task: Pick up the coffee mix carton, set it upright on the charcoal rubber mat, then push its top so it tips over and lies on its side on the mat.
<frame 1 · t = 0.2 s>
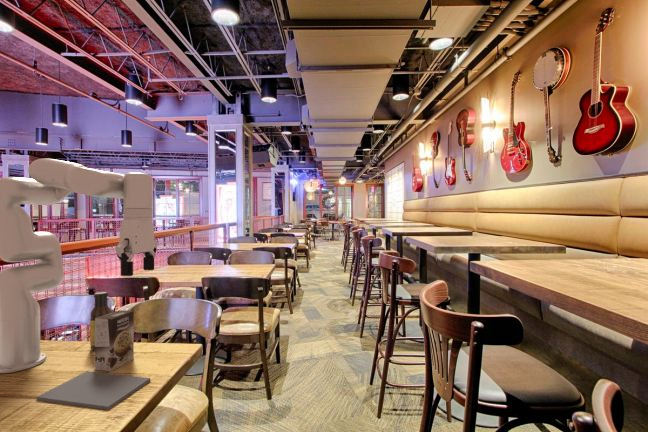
hand: (138, 272, 94), 31 cm above the table, tool pointing down, fingers open, 9 cm apart
sauce bottle: (101, 348, 115), on the table
rubber mat: (96, 389, 87), on the table
coffee box: (115, 364, 102), on the table
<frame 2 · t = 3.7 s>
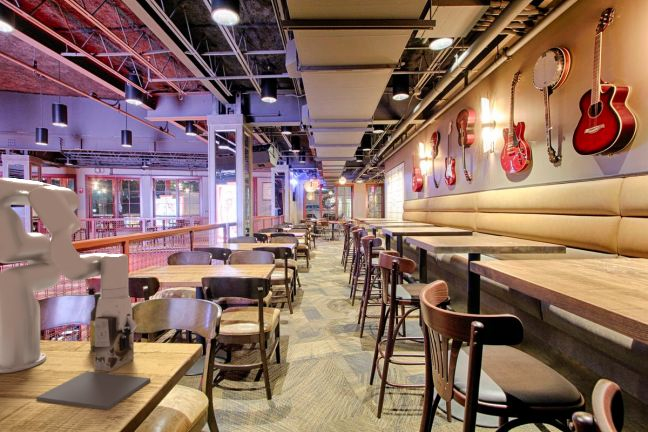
hand: (115, 347, 102), 5 cm above the table, tool pointing down, fingers closed on coffee box, 6 cm apart
coffee box: (115, 364, 102), on the table, touching gripper
everything else where it was.
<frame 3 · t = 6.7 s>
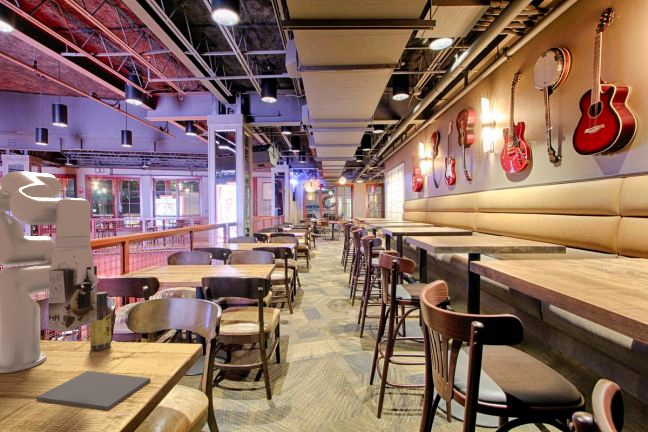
hand: (73, 306, 88), 22 cm above the table, tool pointing down, fingers closed on coffee box, 6 cm apart
coffee box: (73, 326, 88), point 17 cm above the table, touching gripper
everything else where it was.
when the fingers open (7 cm above the table, at t = 10.0 s): coffee box stays where it is, resting on rubber mat.
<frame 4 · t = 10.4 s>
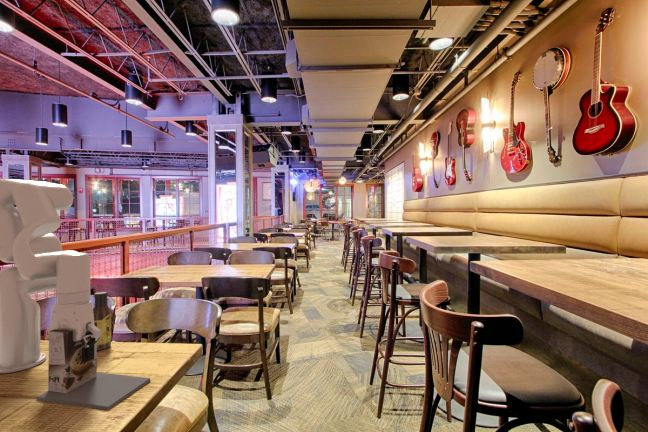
hand: (73, 359, 88), 8 cm above the table, tool pointing down, fingers open, 9 cm apart
coffee box: (73, 384, 88), point 1 cm above the table, touching rubber mat
everything else where it was.
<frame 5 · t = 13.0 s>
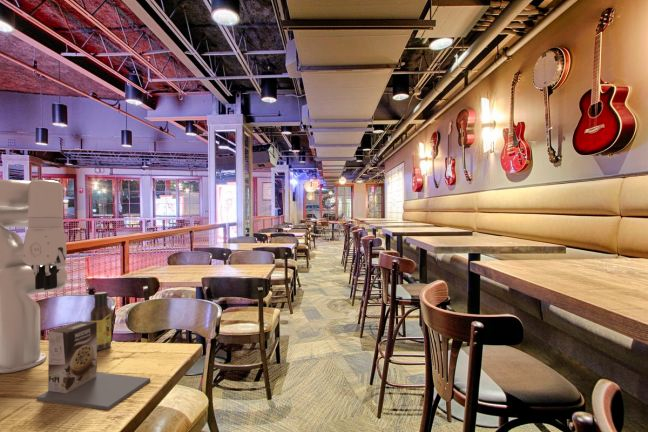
hand: (46, 288, 90), 27 cm above the table, tool pointing down, fingers closed
nothing on the table moved.
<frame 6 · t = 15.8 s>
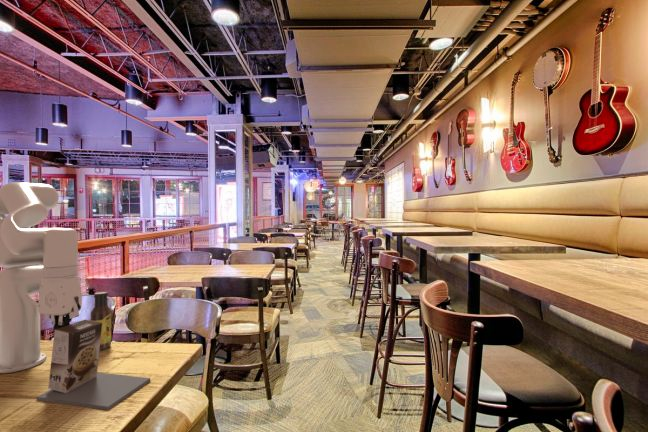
hand: (61, 337, 89), 13 cm above the table, tool pointing down, fingers closed
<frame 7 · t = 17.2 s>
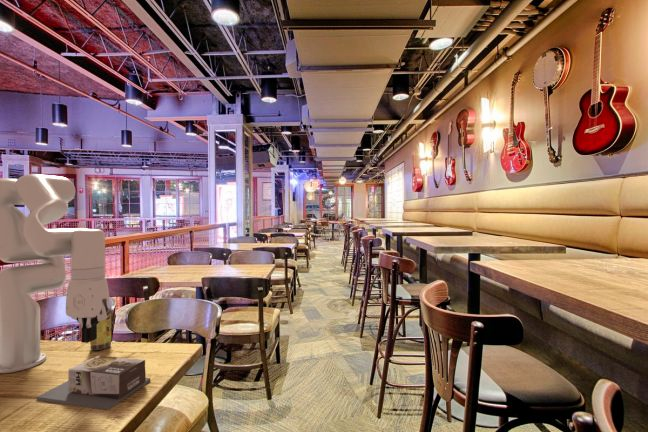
hand: (89, 340, 87), 13 cm above the table, tool pointing down, fingers closed
coffee box: (83, 372, 88), point 4 cm above the table, touching rubber mat
everything else where it was.
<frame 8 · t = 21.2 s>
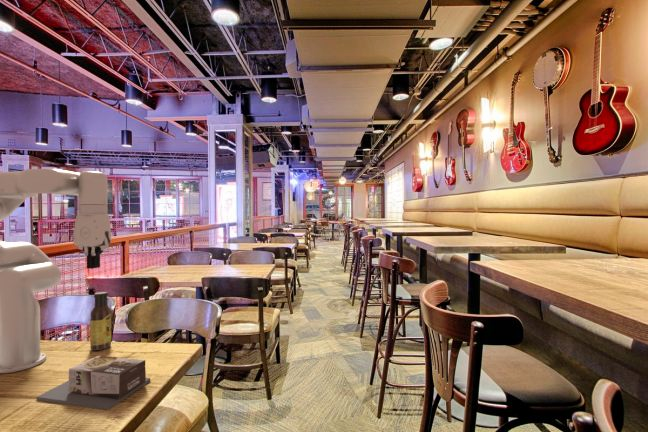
hand: (93, 267, 102), 31 cm above the table, tool pointing down, fingers closed
nothing on the table moved.
at the end: coffee box tilted 90°; coffee box inside the target area (5.2 cm from its centre), point 4.0 cm above the table; the gripper is holding nothing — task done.
